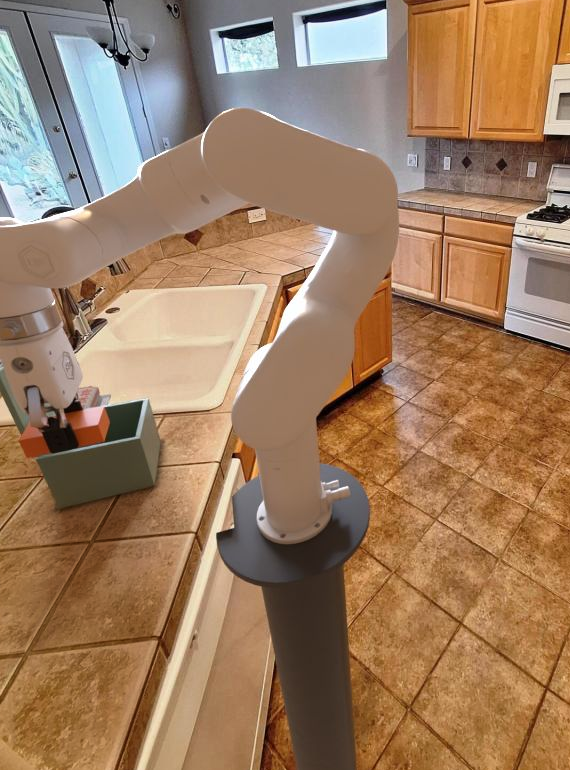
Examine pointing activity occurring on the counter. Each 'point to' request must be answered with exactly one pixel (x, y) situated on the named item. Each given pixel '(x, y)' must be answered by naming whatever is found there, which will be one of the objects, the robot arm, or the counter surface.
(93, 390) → the packaged product
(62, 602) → the counter surface
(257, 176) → the robot arm
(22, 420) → the bin lid
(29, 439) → the block
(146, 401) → the bin
